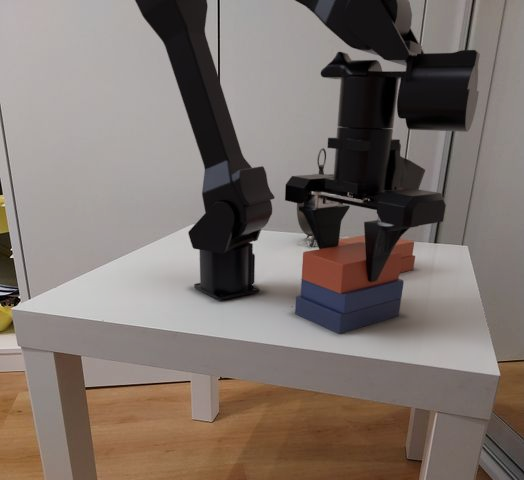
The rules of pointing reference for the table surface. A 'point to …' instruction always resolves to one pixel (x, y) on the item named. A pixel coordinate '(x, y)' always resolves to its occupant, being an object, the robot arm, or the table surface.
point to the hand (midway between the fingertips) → (350, 274)
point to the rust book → (345, 268)
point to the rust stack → (400, 246)
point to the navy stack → (349, 305)
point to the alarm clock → (300, 215)
